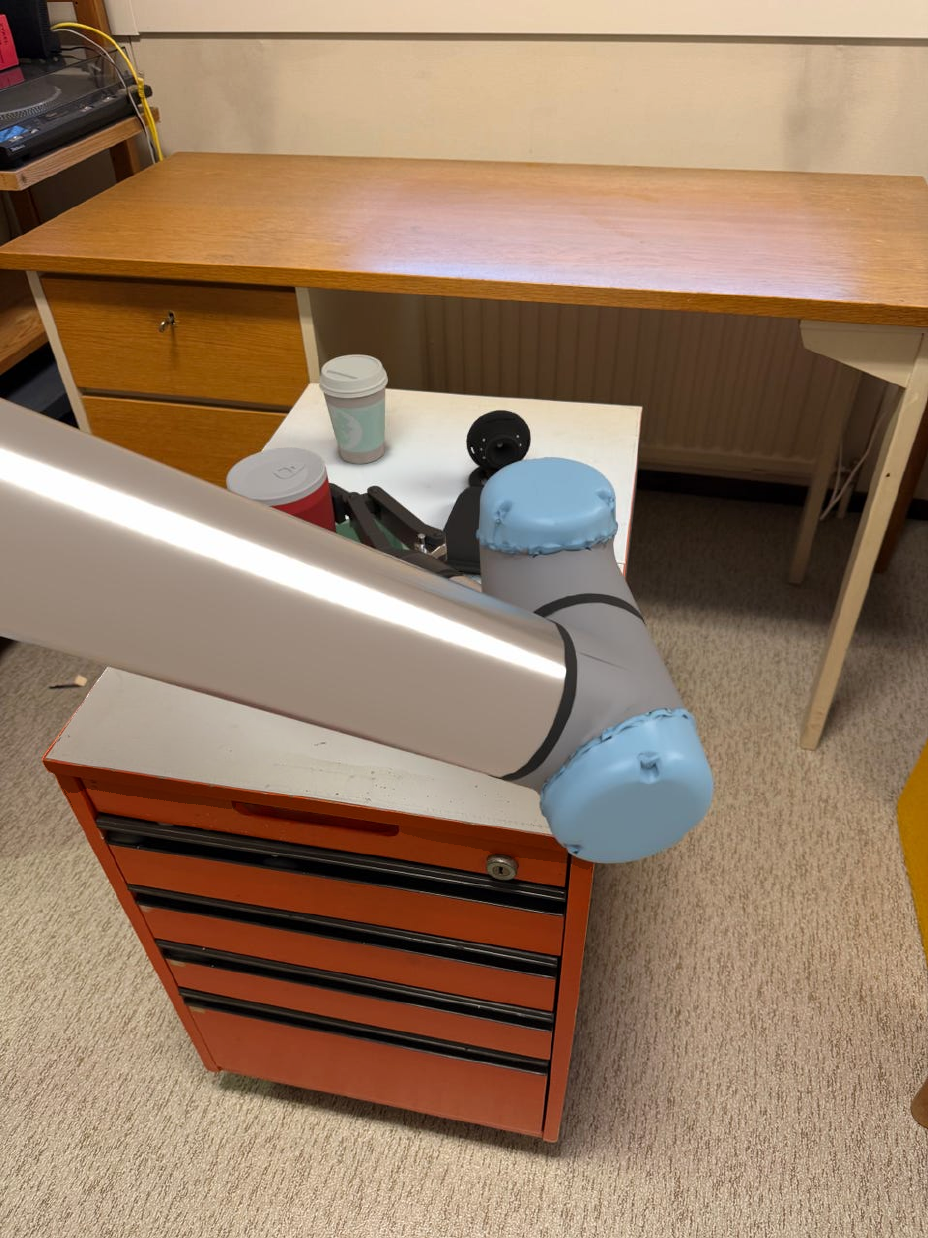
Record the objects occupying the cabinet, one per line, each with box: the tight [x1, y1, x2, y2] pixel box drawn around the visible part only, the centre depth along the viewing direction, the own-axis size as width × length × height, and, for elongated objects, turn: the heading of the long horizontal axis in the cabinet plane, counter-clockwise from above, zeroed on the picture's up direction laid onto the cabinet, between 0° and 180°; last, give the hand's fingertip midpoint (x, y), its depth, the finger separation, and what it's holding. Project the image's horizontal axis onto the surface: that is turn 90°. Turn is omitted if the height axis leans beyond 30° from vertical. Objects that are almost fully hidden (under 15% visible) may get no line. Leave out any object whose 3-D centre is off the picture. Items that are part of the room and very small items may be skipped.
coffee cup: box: [318, 354, 389, 465], centre depth 112 cm, size 9×8×12 cm
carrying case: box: [442, 486, 483, 574], centre depth 99 cm, size 11×3×15 cm
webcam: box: [465, 409, 532, 488], centre depth 106 cm, size 8×8×10 cm
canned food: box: [225, 447, 337, 534], centre depth 73 cm, size 8×8×11 cm
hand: (253, 502), depth 75 cm, fingers closed on canned food, 8 cm apart
